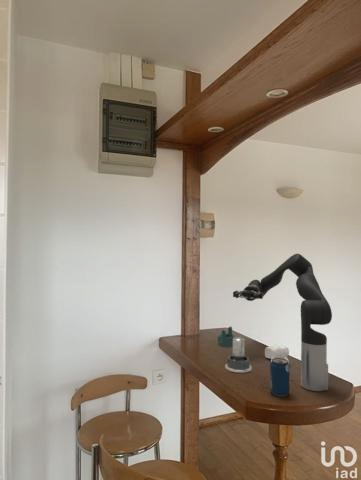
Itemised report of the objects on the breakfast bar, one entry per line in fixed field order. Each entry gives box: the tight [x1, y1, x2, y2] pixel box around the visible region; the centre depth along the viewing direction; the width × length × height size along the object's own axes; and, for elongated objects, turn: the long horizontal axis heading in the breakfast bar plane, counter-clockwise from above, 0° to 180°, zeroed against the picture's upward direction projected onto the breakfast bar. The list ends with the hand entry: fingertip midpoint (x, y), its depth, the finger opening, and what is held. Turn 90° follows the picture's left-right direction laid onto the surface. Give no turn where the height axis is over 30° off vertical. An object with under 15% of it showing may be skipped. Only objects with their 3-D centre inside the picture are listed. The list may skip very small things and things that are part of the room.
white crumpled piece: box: [264, 344, 290, 364], centre depth 165 cm, size 8×8×15 cm
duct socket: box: [224, 354, 253, 374], centre depth 155 cm, size 12×12×4 cm
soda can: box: [269, 358, 291, 397], centre depth 129 cm, size 7×7×12 cm
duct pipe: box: [232, 336, 245, 361], centre depth 155 cm, size 5×5×12 cm
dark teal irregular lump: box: [217, 326, 236, 348], centre depth 192 cm, size 9×9×9 cm
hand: (245, 296), depth 167 cm, fingers open, 8 cm apart
